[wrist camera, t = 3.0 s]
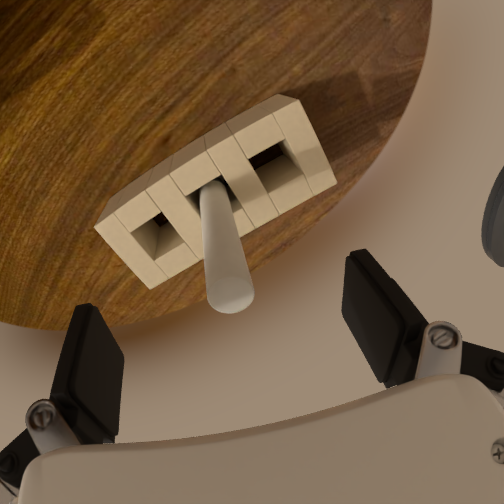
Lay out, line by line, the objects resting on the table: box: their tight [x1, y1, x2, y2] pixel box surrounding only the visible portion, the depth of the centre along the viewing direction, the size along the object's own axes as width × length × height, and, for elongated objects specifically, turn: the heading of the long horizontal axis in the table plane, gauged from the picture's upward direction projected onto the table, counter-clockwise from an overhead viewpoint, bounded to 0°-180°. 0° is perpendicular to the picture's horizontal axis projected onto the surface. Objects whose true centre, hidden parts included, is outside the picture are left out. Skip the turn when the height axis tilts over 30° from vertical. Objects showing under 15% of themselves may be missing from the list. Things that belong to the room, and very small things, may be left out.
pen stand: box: [94, 94, 337, 289], centre depth 21 cm, size 15×6×5 cm, turn 119°
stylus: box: [199, 174, 255, 313], centre depth 18 cm, size 2×2×14 cm
